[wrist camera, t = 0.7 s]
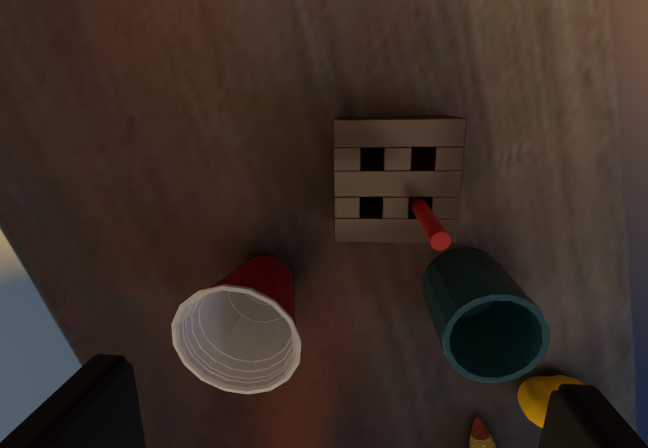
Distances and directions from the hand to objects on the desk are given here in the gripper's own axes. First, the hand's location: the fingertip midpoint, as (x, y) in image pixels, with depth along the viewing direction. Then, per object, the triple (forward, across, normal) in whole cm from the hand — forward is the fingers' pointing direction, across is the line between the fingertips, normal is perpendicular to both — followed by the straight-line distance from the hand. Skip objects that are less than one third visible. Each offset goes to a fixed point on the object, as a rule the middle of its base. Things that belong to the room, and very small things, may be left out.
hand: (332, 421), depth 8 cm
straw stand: (+30, -4, -1) cm, 31 cm away
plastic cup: (+31, +9, +11) cm, 34 cm away
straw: (+30, -6, +1) cm, 31 cm away
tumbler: (+31, -12, +11) cm, 35 cm away
